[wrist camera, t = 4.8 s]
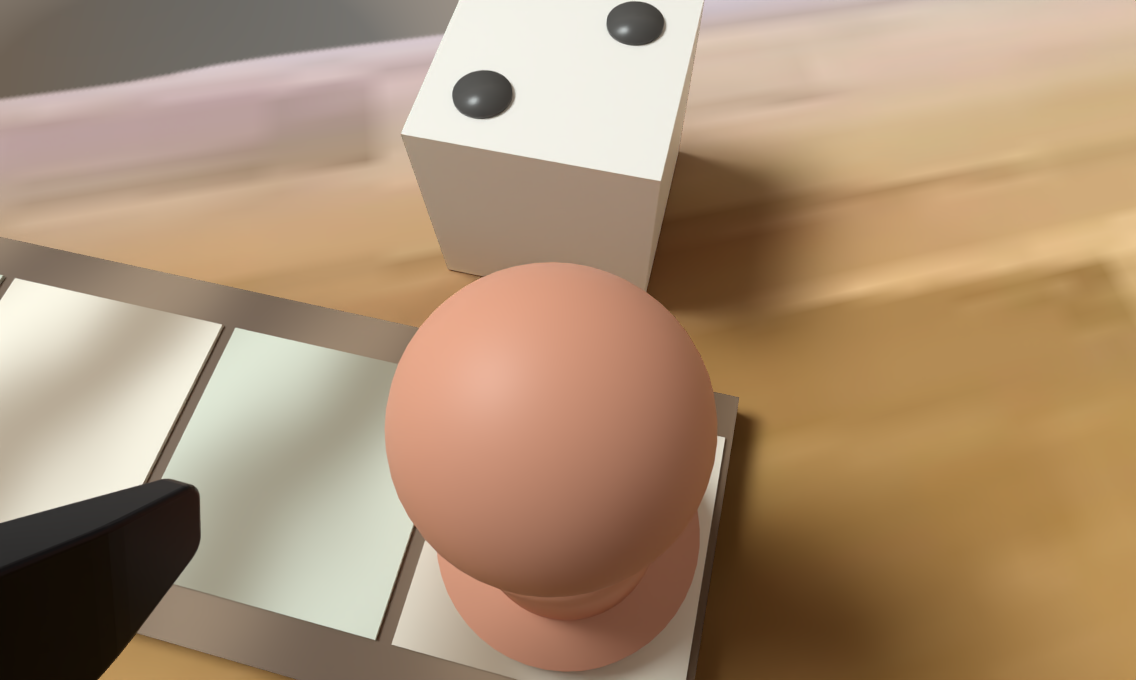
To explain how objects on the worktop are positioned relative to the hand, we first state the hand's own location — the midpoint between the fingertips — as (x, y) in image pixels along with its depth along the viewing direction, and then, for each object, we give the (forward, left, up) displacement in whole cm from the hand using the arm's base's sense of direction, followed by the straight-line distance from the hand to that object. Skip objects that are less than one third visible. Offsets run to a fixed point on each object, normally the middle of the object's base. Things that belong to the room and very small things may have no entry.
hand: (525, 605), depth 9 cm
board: (+11, +2, -9) cm, 14 cm away
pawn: (+1, -2, -8) cm, 9 cm away
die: (+8, -10, -9) cm, 16 cm away
